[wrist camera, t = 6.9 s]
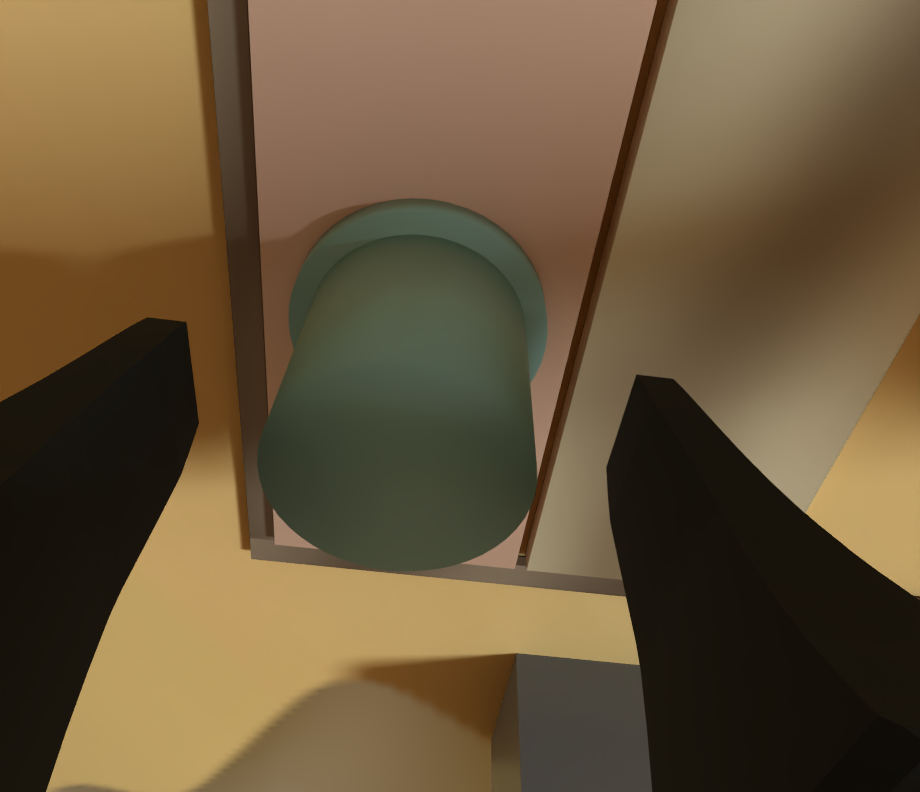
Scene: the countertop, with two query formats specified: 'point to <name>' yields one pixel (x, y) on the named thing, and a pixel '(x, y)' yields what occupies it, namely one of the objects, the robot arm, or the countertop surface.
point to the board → (596, 214)
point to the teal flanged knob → (408, 389)
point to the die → (571, 728)
